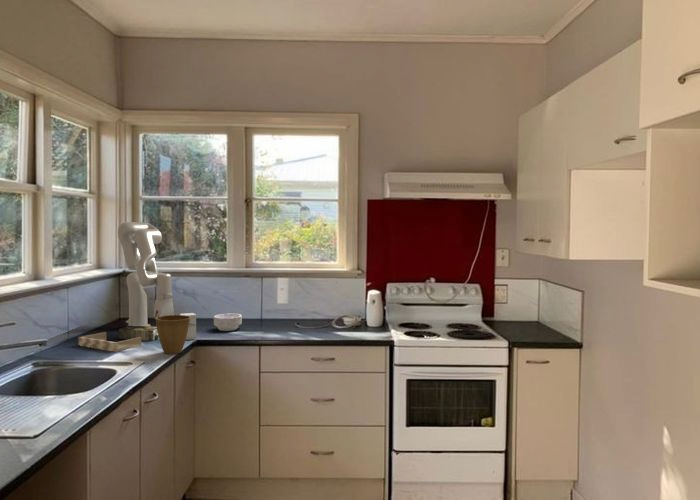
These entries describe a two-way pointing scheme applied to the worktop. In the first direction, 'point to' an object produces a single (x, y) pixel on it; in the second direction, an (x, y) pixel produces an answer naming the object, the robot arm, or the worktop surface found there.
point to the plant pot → (172, 332)
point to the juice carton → (138, 332)
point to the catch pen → (107, 342)
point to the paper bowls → (227, 321)
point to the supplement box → (191, 326)
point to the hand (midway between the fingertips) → (164, 330)
